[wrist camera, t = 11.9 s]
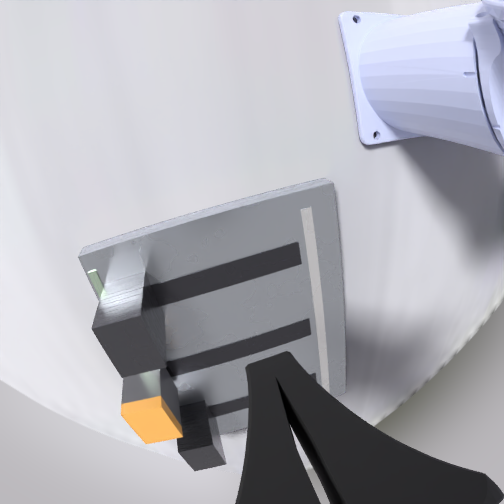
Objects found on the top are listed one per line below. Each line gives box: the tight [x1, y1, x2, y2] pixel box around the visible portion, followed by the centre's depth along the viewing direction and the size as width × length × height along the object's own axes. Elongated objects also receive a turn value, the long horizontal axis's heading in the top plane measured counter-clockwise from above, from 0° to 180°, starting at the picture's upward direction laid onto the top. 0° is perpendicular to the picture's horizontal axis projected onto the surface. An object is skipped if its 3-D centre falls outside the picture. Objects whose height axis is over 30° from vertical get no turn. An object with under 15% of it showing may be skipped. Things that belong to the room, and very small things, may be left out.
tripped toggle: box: [121, 368, 183, 444], centre depth 17 cm, size 2×3×4 cm
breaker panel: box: [78, 178, 346, 471], centre depth 19 cm, size 14×18×5 cm
